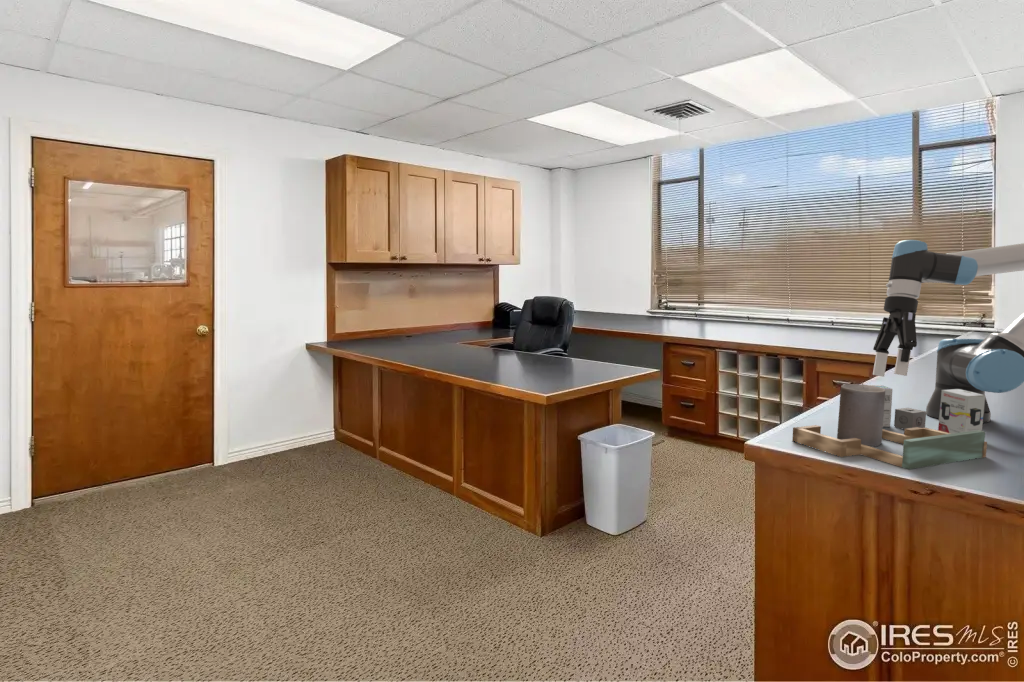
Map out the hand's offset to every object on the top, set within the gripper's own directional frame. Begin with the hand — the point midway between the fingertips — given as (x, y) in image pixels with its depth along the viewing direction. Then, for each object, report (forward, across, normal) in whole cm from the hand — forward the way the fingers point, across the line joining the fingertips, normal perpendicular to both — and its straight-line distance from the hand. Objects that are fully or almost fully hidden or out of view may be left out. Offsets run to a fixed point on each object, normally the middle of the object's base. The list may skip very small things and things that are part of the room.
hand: (888, 375), depth 160 cm
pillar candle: (+19, +13, -9) cm, 25 cm away
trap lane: (+19, +18, -6) cm, 27 cm away
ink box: (+13, +3, +17) cm, 22 cm away
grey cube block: (+13, -4, +9) cm, 16 cm away
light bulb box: (+14, -7, -1) cm, 16 cm away
